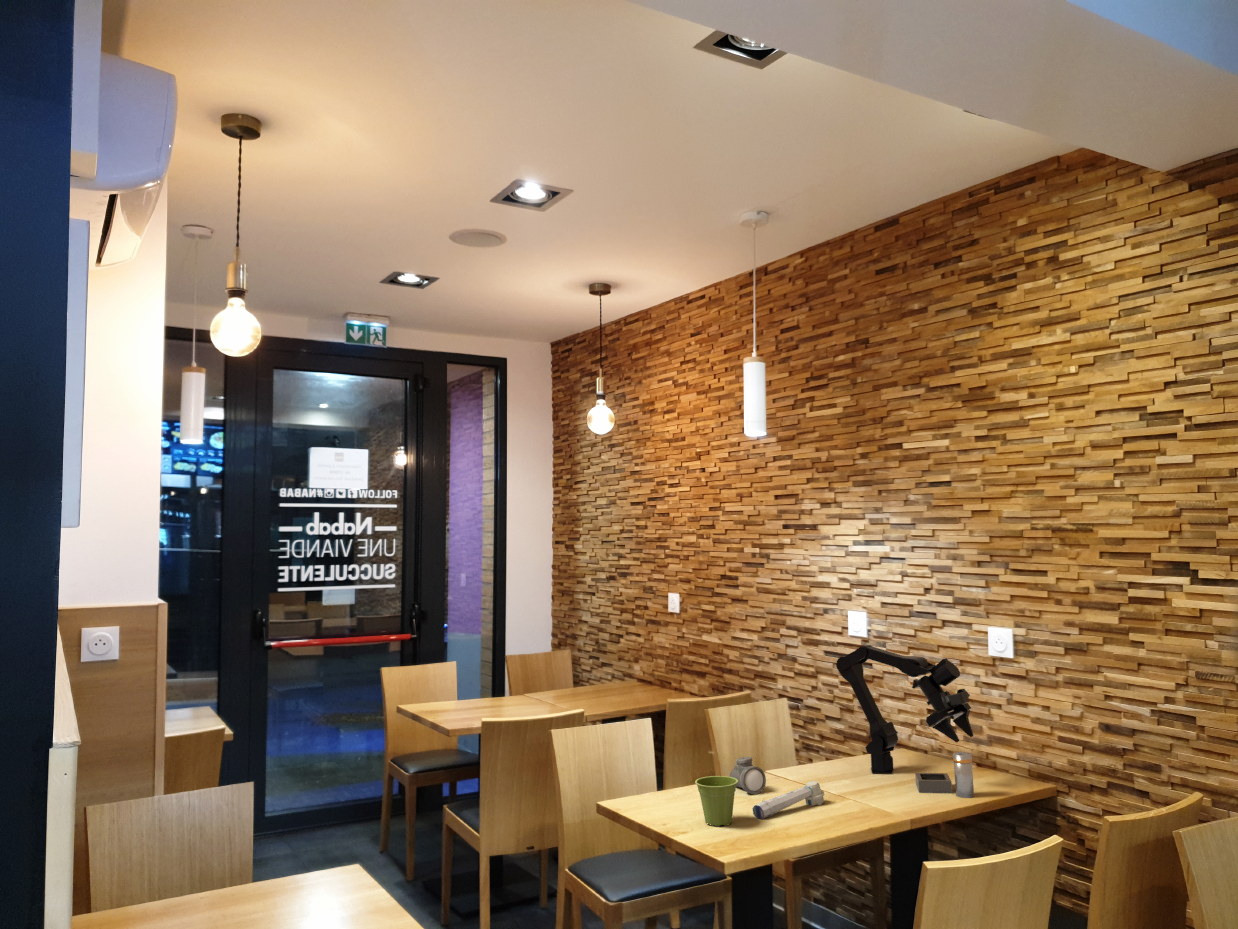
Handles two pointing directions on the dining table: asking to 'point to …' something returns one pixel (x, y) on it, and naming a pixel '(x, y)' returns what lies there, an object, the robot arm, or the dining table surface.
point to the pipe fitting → (748, 776)
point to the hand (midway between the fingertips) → (965, 739)
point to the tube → (963, 774)
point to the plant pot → (717, 798)
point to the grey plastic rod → (790, 800)
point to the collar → (933, 783)
